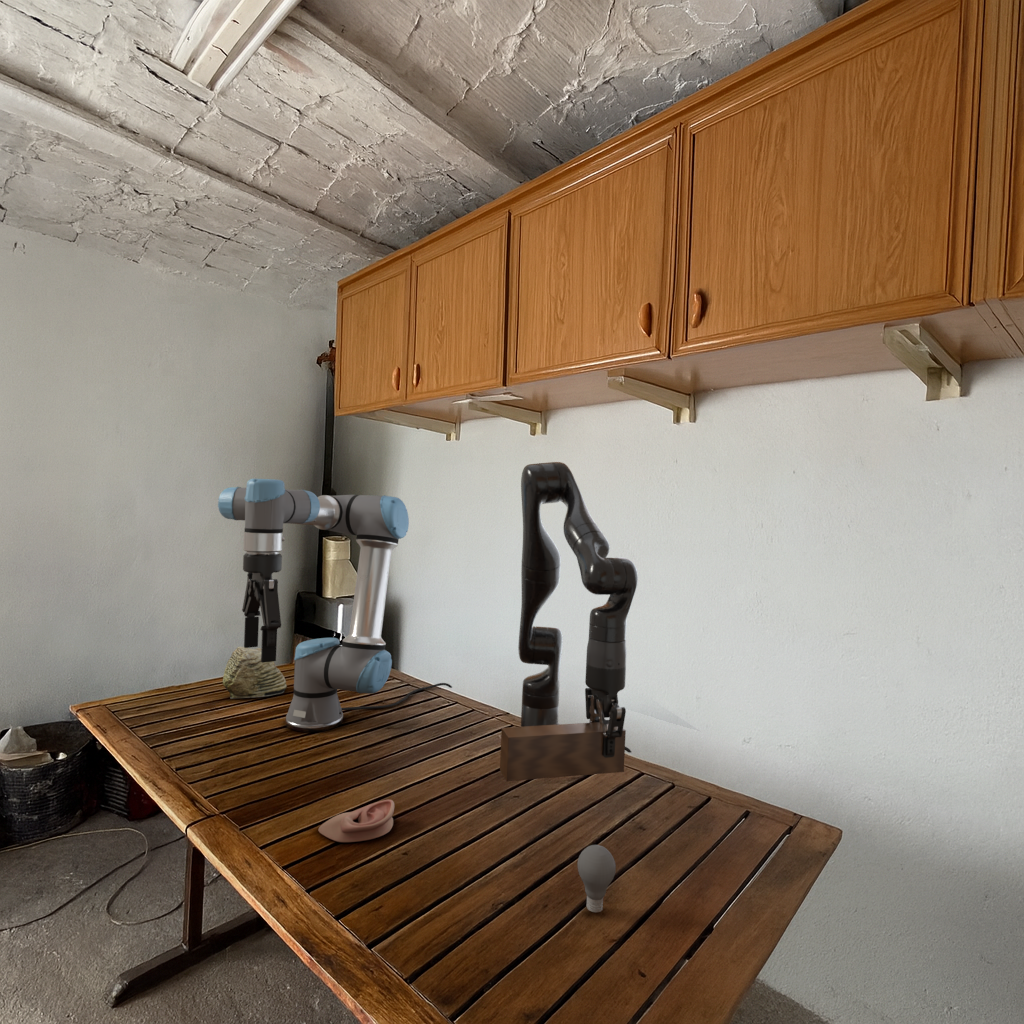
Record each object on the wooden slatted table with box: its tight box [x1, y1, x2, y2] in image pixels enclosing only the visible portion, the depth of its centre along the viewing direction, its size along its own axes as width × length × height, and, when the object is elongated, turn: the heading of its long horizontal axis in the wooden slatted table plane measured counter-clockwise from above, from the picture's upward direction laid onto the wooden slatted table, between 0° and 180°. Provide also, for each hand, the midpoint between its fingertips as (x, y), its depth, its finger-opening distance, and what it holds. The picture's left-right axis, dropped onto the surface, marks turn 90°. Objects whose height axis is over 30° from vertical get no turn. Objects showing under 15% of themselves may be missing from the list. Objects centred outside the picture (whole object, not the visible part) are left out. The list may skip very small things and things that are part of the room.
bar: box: [499, 722, 627, 782], centre depth 119 cm, size 23×5×8 cm, turn 106°
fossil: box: [222, 646, 288, 699], centre depth 198 cm, size 9×18×15 cm, turn 132°
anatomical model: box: [317, 799, 395, 843], centre depth 122 cm, size 13×4×12 cm
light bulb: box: [577, 844, 617, 913], centre depth 100 cm, size 6×6×10 cm
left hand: (259, 654), depth 132 cm, fingers open, 13 cm apart
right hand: (602, 750), depth 121 cm, fingers closed on bar, 5 cm apart
